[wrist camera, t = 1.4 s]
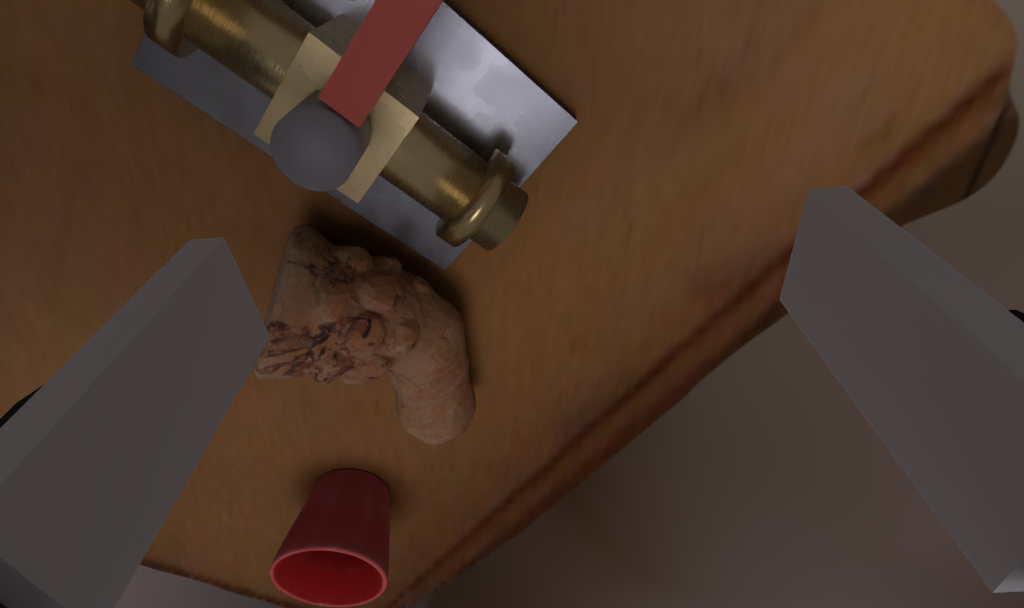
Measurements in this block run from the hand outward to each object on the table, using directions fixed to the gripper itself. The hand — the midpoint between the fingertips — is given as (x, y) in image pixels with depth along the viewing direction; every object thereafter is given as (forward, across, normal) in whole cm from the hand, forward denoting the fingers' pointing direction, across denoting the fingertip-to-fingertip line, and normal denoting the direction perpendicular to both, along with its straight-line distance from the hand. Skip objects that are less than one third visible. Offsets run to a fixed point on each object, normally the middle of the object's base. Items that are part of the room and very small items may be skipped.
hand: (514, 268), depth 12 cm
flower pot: (+25, -21, -42) cm, 53 cm away
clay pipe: (+25, -12, -18) cm, 33 cm away
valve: (+24, -9, -1) cm, 26 cm away
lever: (+17, -5, +3) cm, 17 cm away
